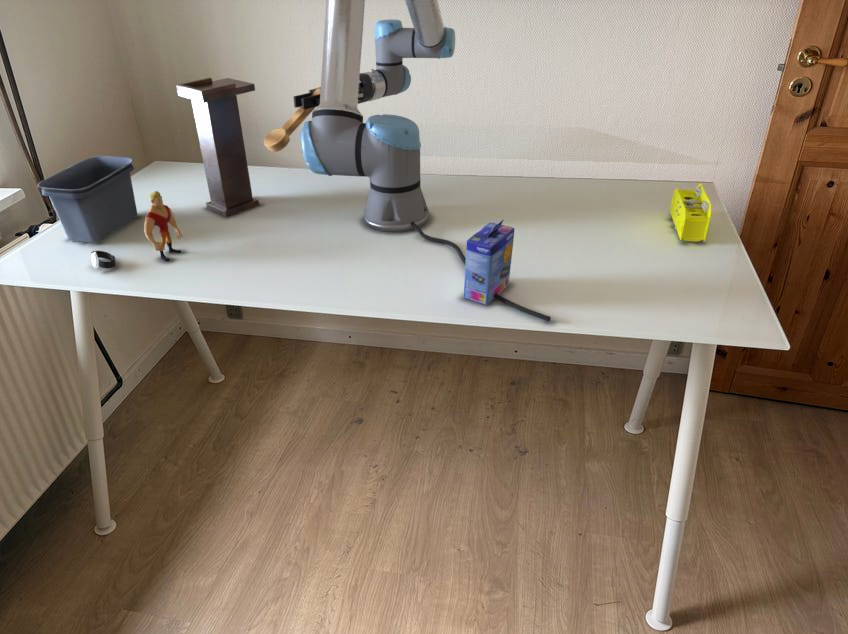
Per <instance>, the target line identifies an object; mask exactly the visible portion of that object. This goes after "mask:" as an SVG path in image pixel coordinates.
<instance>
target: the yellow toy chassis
mask: <svg viewBox="0 0 848 634" xmlns="http://www.w3.org/2000/svg"><path fill="white" fill-rule="evenodd" d="M712 205H713V204H712V202H711V200H710V198H709V196H708V194H707V192H706V190H705V187H704V186H703V184H702V182H700V183H699V184H698V185H697V186H696V188H695V191H694V190H693V189H679V188H678V187H676V188H675V189H674V190H673V194H672V199H671V201H670V209H669V213H670V216H671V218H672V225H674V230H676V233H677V235H678V238H679V240H680V241H682V240H683V241H684V242H697V243H698V242H701V241H703V242H706V239H707V237H708V232H709V228H710V223H711V219H712V216H713V215H712V214H713V213H712V212H713V211H712V209H713V208H712V207H713V206H712Z"/></svg>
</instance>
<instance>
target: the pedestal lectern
mask: <svg viewBox="0 0 848 634" xmlns="http://www.w3.org/2000/svg"><path fill="white" fill-rule="evenodd" d="M175 86H176V93H177V96H178V97H181V98H185V99H188V100H191V106H192V111H193V117H194V122H195V126H196V132H197V137H198V143H199V148H200V152H201V157H202V163H203V168H204V173H205V177H206V183H207V188H208V193H209V199H210V201H208V202H205V207H206V209H207V210H209V211H212V212H213V213H216V214H219V215H221V216H223V217H225V218H228V217H231V216H234V215H236V214H240V213H242V212H245V211H249V210H251V209H253V208H256V207H259V206H260V200H259V199H258V198H254V197H253V192H252V186H251V185H252V184H251V179H250V172H249V166H248V160H247V154H246V148H245V141H244V134H243V128H242V127H243V126H242V122H241V115H240V110H239V109H240V108H239V103H238V95H242V94H247V93H251V92H255V91H256V86H255V83H252V82H249V81H244V80H238V79H235V78H230V77H226V78H221V79H217V80H213V77H210V76H209V77H206V78H200V79H196V80H192V81H187V82H181V83H177V84H176V85H175Z"/></svg>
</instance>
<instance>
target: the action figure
mask: <svg viewBox="0 0 848 634" xmlns="http://www.w3.org/2000/svg"><path fill="white" fill-rule="evenodd" d="M148 197H149V199H150V203H151V206H150V207H149V209H148V212H147V214H146V215H145V219H144V229H143V231H144V235H145V237H146V238H147V240H148V241H149V242H150V243H151V244H152V245H153V248H154V250H155V251H157V252H159V253H160V259H161V260H162V261H164V262H170V258H169V257H167V256H166V255H165V253H164V252H165V251H166V248H165V246H166V245H167V248H168V253H169V254H173V253H177V254H181V253H182V250H181V249H175V248H173V241H172V237H171V232H170V230H169V225H170V226H171V227H172V228H173V229H174V232H175V233H176V234H177V237H176V240H182V239H183V238H184V237H183V235H182V232H181V230H180V229H179V226H178V223H177V219H176V218H175V216H174V214H173V211H172V209H171V207H169V206H168V205H167V204H166V205H165V204H164V202H163V196H162V195H161V192H160V191H159V190H156V191H154V192H151V193H150V194H149V196H148ZM155 227H158V233H159V235H160V239H161V242H160V241H156V239H155V237H154V235H153V232H154V229H155Z"/></svg>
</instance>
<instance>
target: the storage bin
mask: <svg viewBox="0 0 848 634" xmlns="http://www.w3.org/2000/svg"><path fill="white" fill-rule="evenodd" d="M133 162H134V159H133V158H131V157H126V156H125V157H124V156H112V155H111V156H109V155H97V156H92V157H89V158H86V159H83V160H81V161H79V162H77V163H75V164H72V165H70V166H69V167H67V168H65V169H63V170H60V171H59V172H57V173H55V174H53V175H51V176H49V177H47V178H45V179H43V180H41V181H39V182H38V184H37V188H40V189H41V194H42V196H45V197H49V200H50V202H51V204H52V206H53V209H54V211H55V214H56V215H57V217H58V220H59V221H60V224H61V226H62V228H63V230H64V233H65V235H66V236H67V239H68V240H70V241H75V242H83V243H92V244H94V243H95V244H96V243H99V242H102V240H104V239H106V238H107V237H108V236H110V235H112V234H113V233H115V232H116V231H118V230H119V229H121V228H122V227H123V226H125V225H126V224H129V222H131V221H133V220H134V219H136V217H138V215H139V214H138V209H137V205H136V204H137V203H136V197H135V193H134V187H133V181H132V177H131V172H133V171H134V170H135V167H134V165H133Z"/></svg>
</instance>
